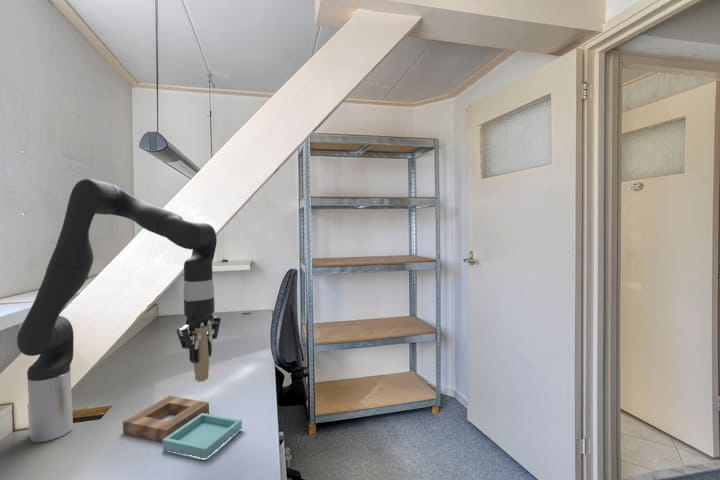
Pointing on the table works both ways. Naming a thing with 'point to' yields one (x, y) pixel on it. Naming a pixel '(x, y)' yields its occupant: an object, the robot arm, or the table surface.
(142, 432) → the socket block
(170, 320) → the table surface
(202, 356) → the handle
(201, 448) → the tray
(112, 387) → the table surface
